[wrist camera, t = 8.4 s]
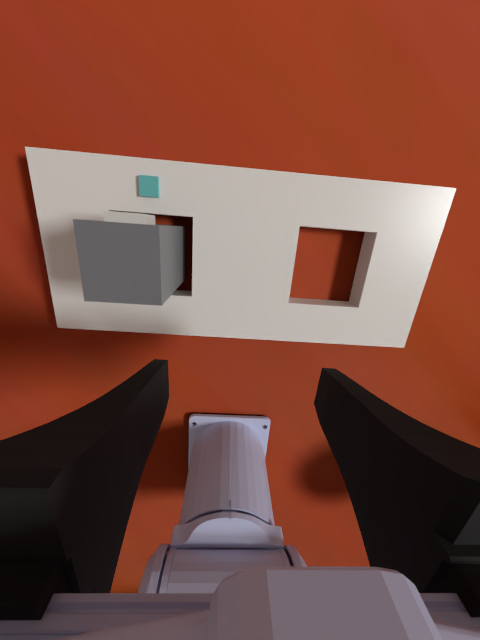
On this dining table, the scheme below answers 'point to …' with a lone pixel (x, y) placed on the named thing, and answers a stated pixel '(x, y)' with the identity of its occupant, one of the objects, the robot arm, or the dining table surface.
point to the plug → (129, 258)
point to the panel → (243, 246)
